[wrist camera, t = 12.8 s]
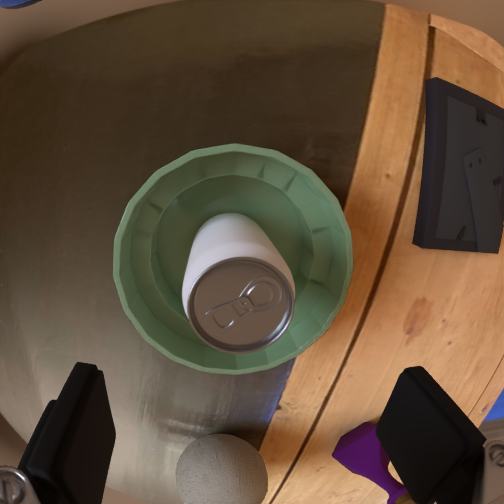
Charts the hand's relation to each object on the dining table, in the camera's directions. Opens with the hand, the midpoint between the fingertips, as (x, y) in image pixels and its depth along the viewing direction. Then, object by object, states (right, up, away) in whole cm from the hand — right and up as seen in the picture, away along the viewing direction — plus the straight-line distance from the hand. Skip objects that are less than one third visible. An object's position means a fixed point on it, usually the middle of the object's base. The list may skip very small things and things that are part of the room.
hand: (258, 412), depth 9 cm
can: (-2, +5, +19) cm, 20 cm away
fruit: (-4, -20, +27) cm, 34 cm away
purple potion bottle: (+15, -21, +29) cm, 39 cm away
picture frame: (+24, +14, +20) cm, 34 cm away
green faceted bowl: (-2, +5, +20) cm, 21 cm away
